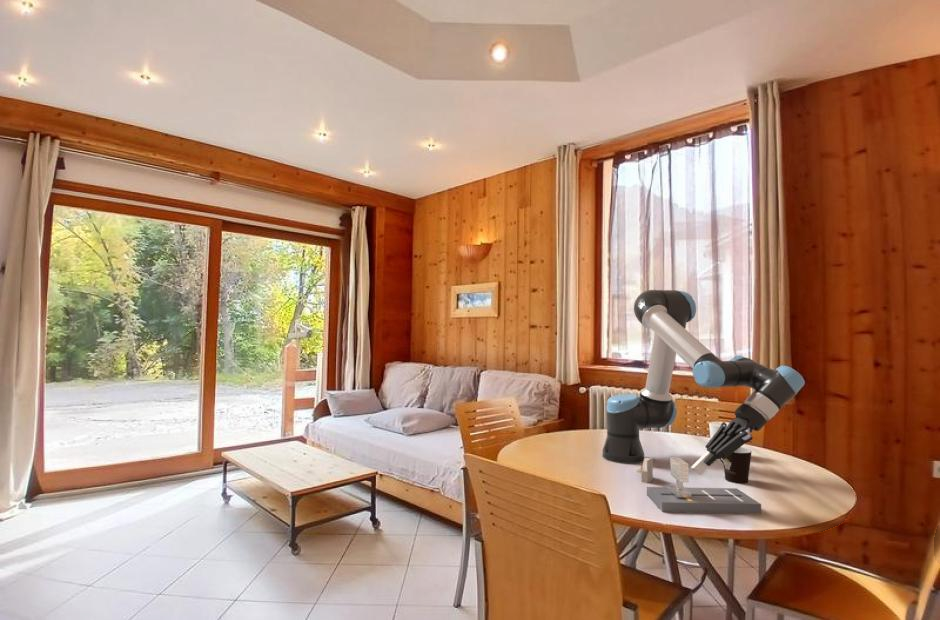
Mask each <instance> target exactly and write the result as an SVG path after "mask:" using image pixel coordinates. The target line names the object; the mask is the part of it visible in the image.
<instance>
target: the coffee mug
mask: <svg viewBox="0 0 940 620" xmlns="http://www.w3.org/2000/svg"><path fill="white" fill-rule="evenodd" d="M752 453H753V452H752V450H751V449H749V448H747V447H742V446H741V447H740V448H738V449H737V450H736V451H735V452H733V453H732V454H731V455H729V456H728V457H727V458H725V459H724V460H723V459H722V458H720V459H719V461H720V462H721V463H722V466H723V472H724V479H725V480H726V481H727V482H730V483H733V484H738V485H743V484H744V485H746V484H748V483H749V477H750V467H751V460H752Z"/></svg>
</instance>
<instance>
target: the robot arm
mask: <svg viewBox="0 0 940 620" xmlns="http://www.w3.org/2000/svg"><path fill="white" fill-rule="evenodd" d="M633 313H634V316H635V318H636V319H637V321H638V322H639V323H640V324H641V325H642V326H643V327H645V328H646V329H649V330H651V331H653V333H654V336H653V340H652V341H653V342H652V346H651V347H652V348H651V353H650V357H649V358H650V359H649V362H648V363H649V364H648V371H647V377H646V380H645V381H646V382H645V387H644V388H642V389H640V392H639V396H638V395H636V394H629V393H627V394H623V393H622V394H615V395H612V396H610V397H609V398H608V399H607V401H606V434H607V435H606V439H605V442H604V444H603V448H602V457H603V459H605V460H608V461H610V462H615V463H620V464H621V463H622V464H637V463H643V462H644V458H645V451H644V448H643V446H642V443H641V440H640V430H642V429H643V430H644V429H661V428H666V427H668V426H671V425H672V424H673V423H674V421H676V418H677V413H678V410H677V407H676V406H677V405H676V402H675V401H674V400H673V396H672V394H671V393H670V388H671V384H672V378H673V372H674V368H675V361H676V356H678V357H679V358H680V359H682V360H683V361H684V362H685V364H687V365H688V366H689V367H690V368H691V369H692V377H693V379H694V381H695V383H696V384H697V385H698V386H700V387H701V388H712V389H715V388H727V387H748V388H751V389H752V390H755V391H753V392H752V393H751V394H750V395H749V396H747V397H746V399H745V400H744V403H741V404H740V405H739V406H738V407H737V408H736V409H735V410H734V411H733V413H734V415H735V417H734V418H733V419H731V420H730V421H729V422H728V423H729V424H726V423H725V422H726V421H722V422H723V423H722V424H721V426H720V428H719V429H718V431H717V432H716V433H715V434H714V436H713V437H712V438H711V440H710V439H709V441H708V442H707V443H706V445H705V448H706V451H705V452H704V454H702V456H701V457H700V458H699V459H697V460H696V462H695V463H693V464H692V466H691V469H693V471H695V472H696V474H697V475H699V476H702V474H703V473H705V472H707V471H706V470H708V469H709V468H710V467H711V466H712V465H713V464H714V463H715V462H717V460H720V458H721V459H722V461H723V460H724V459H725V458H727V457H728V456H729V455H731V454H732V453H733V452H735V451H736V450H737V449H738V448H740V447H742V446H744V445H745V444H747V443H749V442H751V441H752V440H753V439H754V437H753V436H752V435H751V434H752V432H753V431H755V432H758V431H760V430H761V429H762V428H763V427H764V426H765V425H766V424H767V423H768V422H767V421H770V420H771V419H772V418H773V417H775V416H776V414H777V413H778V412H779V411H780V410H781V409H782V408H783V407H784V406H785V405H786V404H787V403H788V402H789V401H790V400H791V399H792V398H794V397H795V396H796V395H797V394H798V392H799V391H801V389H802V388H803V387H804V386H805V383H806V381H805V379H804V377H803V375H801V373H799V372H798V371H797V370H795V369H794V368H792V367H790V366H787V365H779V367H777V368H776V369H772V368H770V367H767V366H766V365H763V364H761V363H760V362H757V361H755V360H753V359H752V358H750V357H745V356H743V355H735V356H734V357H732V358H731V359H729V360H721V359H720V358H719V357H718V356H716V354H714V353H713V352H712V351H711V350H709V348H708V347H706V346H705V345H704V344H703V343H702V342H701V341H699V340H698V338H696V337H695V336H694V335H693V334H692V333H691V332H689V331H688V330H687V329H686V327H687V323H689V322H691V321H692V320H693V319H694V318H695V317H696V313H697V306H696V302H695V300H694V299H693V296H692V295H691V294H689V292H687V291H683V290H676V289H648V290H644V291H643V292H642V293H640V294H639V295H638V296H637V297H636V298H635V301H634V303H633Z"/></svg>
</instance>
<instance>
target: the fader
mask: <svg viewBox="0 0 940 620" xmlns="http://www.w3.org/2000/svg"><path fill="white" fill-rule="evenodd" d="M669 458H670V476H672V477H673V479H675V480H676V485H668V486H667V487H668V490H669V491H670V492H671V493H673V494H674V495H675V496H676V497H682V498H692V493H691V492H689V491H688V490H687V489H686V488H687V487H684V486H683V483H690V479H689V478H690V477H689V475H690V474H689V472H690V471H689V469H690V468H689V466H690V465H689V463H688V462H686V461H685V460H683V459H682V458H681V457H678V456H676V457H675V456H673V457H669Z"/></svg>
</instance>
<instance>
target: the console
mask: <svg viewBox="0 0 940 620" xmlns="http://www.w3.org/2000/svg"><path fill="white" fill-rule="evenodd" d="M685 488H686V489H687V490H688V491H689V492H691V493H692V498H682V497H676V496H675V495H674V494H673V493H671V492H670V491H669V490H668V486H646V496H647V498H649V500H651V501H652V503H654V505H656V507H657V508H658V509H659V510H660V511H661V512H662V513H700V514H702V513H705V514H707V513H709V514H713V513H714V514H754V515H755V514H756V515H757V514H759V515H761V514H762V504H761V503H760V501H759V502H758V501H757V500H755V499H754V498H752V497H751V496H749V495H748V494H746V493H745V492H743V491H741V490H740V489H739V488H735V487H734V488H733V487H732V488H730V487H729V488H728V487H722V488H721V487H685Z"/></svg>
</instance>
